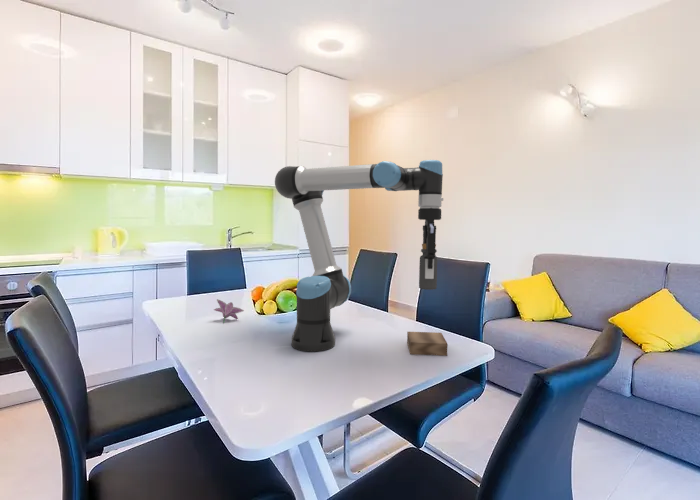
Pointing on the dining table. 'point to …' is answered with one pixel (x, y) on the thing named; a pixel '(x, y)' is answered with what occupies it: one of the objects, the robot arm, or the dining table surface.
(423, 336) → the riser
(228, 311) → the lily
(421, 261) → the bottle
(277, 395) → the dining table surface
